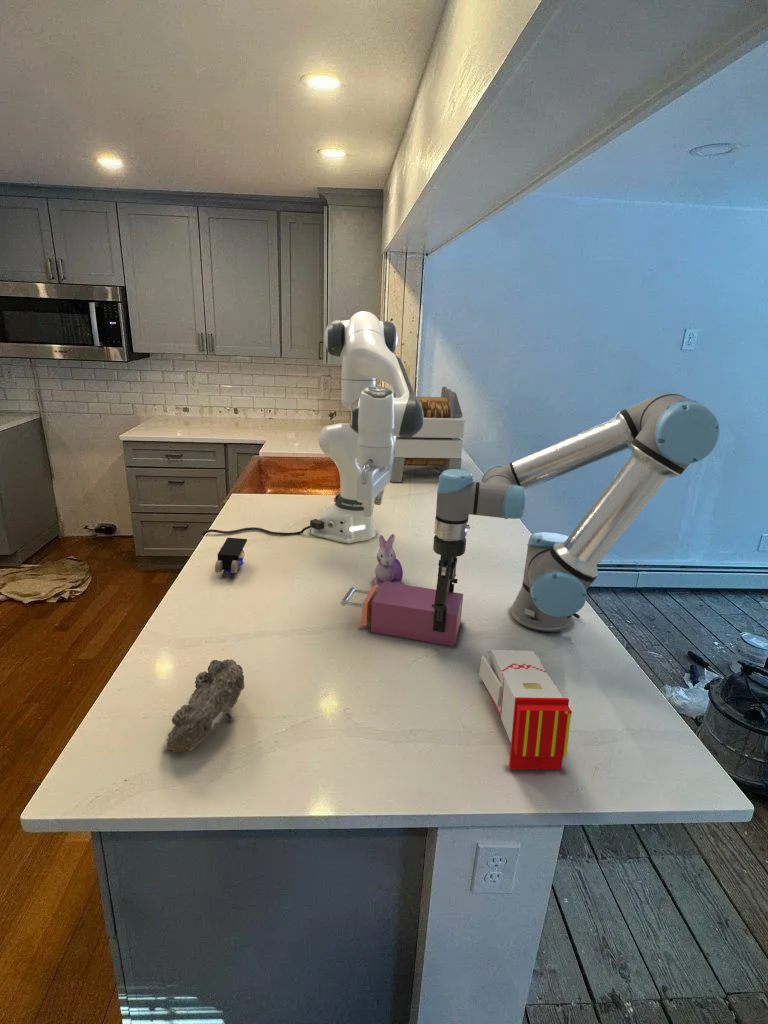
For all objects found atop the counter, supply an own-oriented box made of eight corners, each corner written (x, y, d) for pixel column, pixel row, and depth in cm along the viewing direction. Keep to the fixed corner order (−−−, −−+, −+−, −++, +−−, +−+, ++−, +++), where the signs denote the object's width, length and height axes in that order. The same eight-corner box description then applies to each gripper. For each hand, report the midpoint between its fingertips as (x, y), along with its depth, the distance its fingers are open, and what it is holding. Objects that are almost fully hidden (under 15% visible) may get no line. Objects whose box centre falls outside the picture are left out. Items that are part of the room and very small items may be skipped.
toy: (530, 632, 124) (581, 706, 94) (525, 688, 126) (573, 777, 97) (475, 631, 123) (509, 705, 94) (471, 687, 126) (503, 777, 96)
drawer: (338, 621, 141) (339, 598, 139) (351, 602, 150) (351, 580, 148) (439, 638, 135) (441, 615, 133) (445, 618, 145) (447, 595, 142)
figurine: (381, 594, 157) (383, 544, 152) (365, 579, 165) (367, 531, 160) (411, 588, 161) (414, 539, 156) (393, 573, 169) (396, 527, 164)
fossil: (192, 660, 117) (244, 628, 112) (224, 691, 120) (276, 661, 115) (142, 746, 98) (202, 712, 93) (182, 779, 101) (242, 748, 96)
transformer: (382, 463, 289) (386, 382, 275) (445, 464, 293) (451, 384, 279) (390, 482, 257) (394, 392, 243) (460, 483, 261) (468, 394, 247)
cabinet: (370, 631, 139) (372, 601, 136) (382, 609, 149) (383, 581, 146) (454, 646, 134) (457, 615, 131) (460, 622, 145) (463, 593, 142)
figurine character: (238, 584, 162) (249, 557, 175) (236, 562, 158) (247, 536, 172) (215, 584, 161) (227, 556, 175) (212, 561, 158) (225, 535, 171)
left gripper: (376, 467, 127) (374, 524, 132) (397, 448, 146) (394, 499, 151) (349, 464, 129) (348, 521, 133) (373, 446, 147) (371, 497, 152)
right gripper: (459, 558, 120) (451, 646, 127) (472, 521, 142) (464, 598, 149) (424, 553, 122) (418, 641, 129) (442, 517, 143) (436, 594, 151)
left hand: (373, 509), depth 142 cm, fingers open, 8 cm apart
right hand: (442, 618), depth 139 cm, fingers closed on cabinet, 11 cm apart
